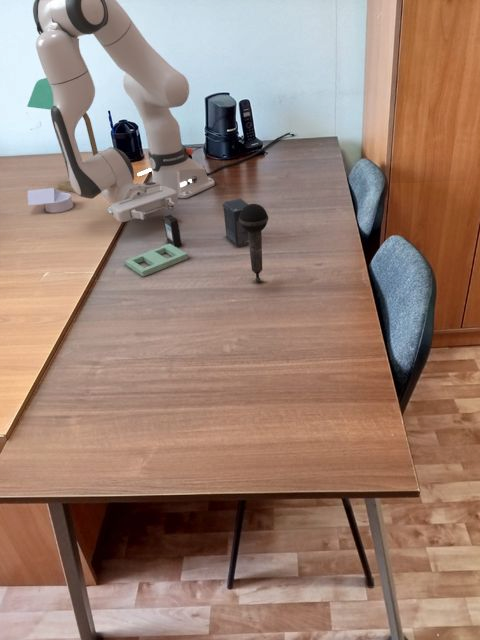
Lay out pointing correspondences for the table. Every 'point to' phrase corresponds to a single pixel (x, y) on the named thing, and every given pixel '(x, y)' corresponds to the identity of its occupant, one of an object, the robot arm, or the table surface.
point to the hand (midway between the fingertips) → (159, 211)
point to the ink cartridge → (172, 230)
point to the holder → (156, 259)
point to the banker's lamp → (44, 100)
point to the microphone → (254, 233)
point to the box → (235, 222)
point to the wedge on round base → (50, 199)
